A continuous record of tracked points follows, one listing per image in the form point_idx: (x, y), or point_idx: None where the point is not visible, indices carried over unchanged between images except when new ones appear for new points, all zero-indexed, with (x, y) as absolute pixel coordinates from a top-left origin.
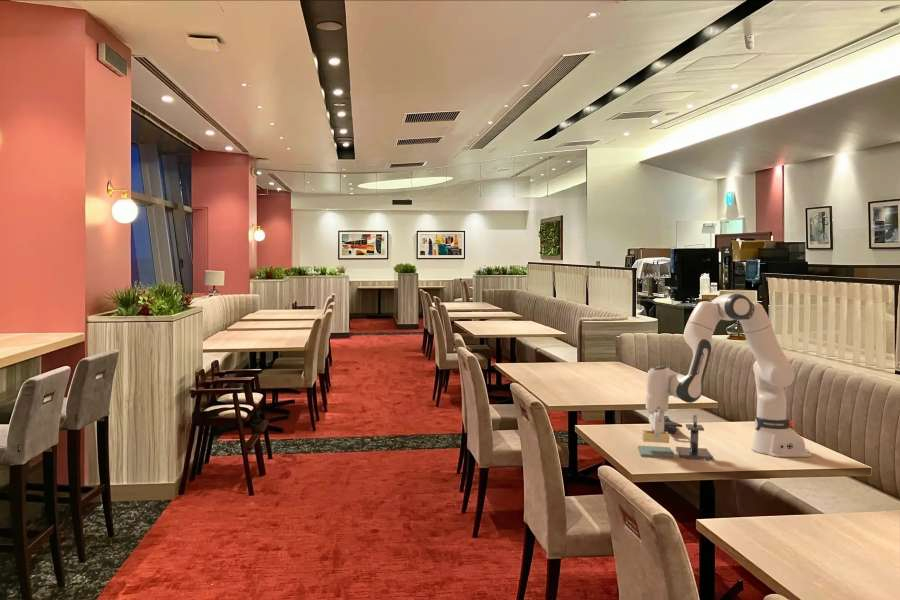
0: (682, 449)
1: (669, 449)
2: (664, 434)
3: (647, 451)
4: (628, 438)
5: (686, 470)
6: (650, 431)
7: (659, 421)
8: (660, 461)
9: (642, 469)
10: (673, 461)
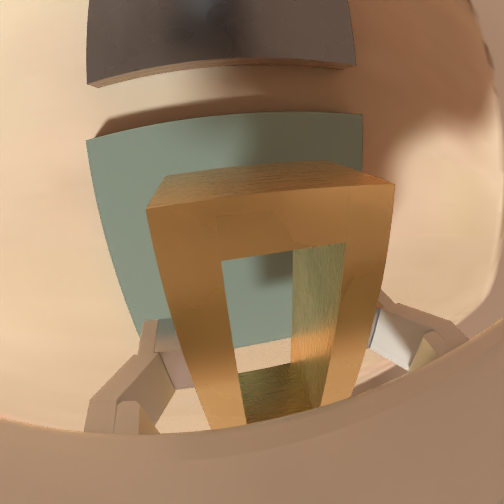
0: (170, 25)
1: (161, 137)
2: (384, 261)
3: (283, 301)
4: (13, 371)
5: (491, 117)
6: (243, 416)
7: (92, 496)
8: (414, 214)
9: (475, 280)
10: (408, 137)
